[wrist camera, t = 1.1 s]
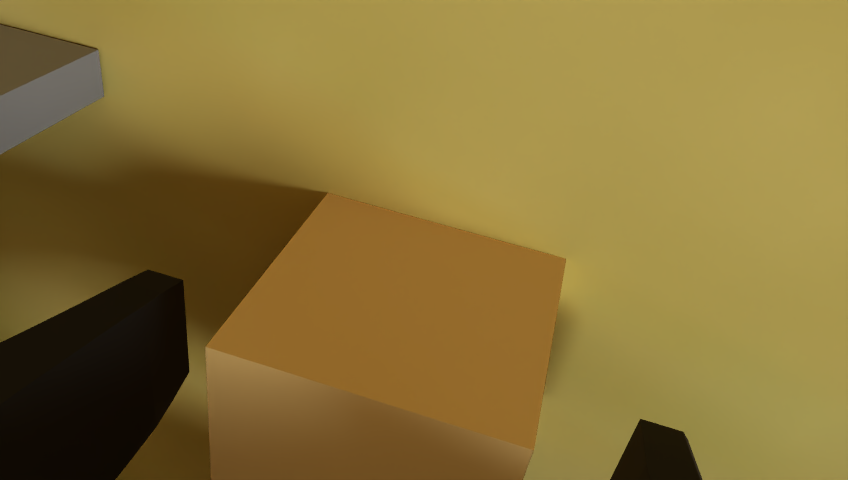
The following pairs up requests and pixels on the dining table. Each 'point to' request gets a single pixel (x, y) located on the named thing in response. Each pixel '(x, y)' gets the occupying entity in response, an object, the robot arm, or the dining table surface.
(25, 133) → the grey piece
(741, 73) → the dining table surface
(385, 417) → the brown cube
